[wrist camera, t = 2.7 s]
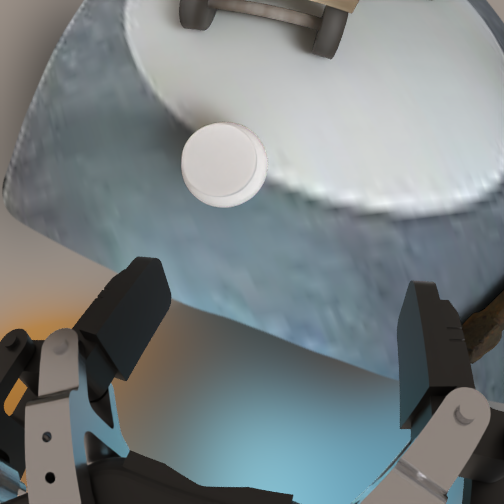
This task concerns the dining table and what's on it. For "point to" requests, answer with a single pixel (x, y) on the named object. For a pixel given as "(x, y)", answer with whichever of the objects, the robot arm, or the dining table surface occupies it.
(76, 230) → the dining table surface
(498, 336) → the hand tool
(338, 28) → the trolley
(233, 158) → the supplement bottle
